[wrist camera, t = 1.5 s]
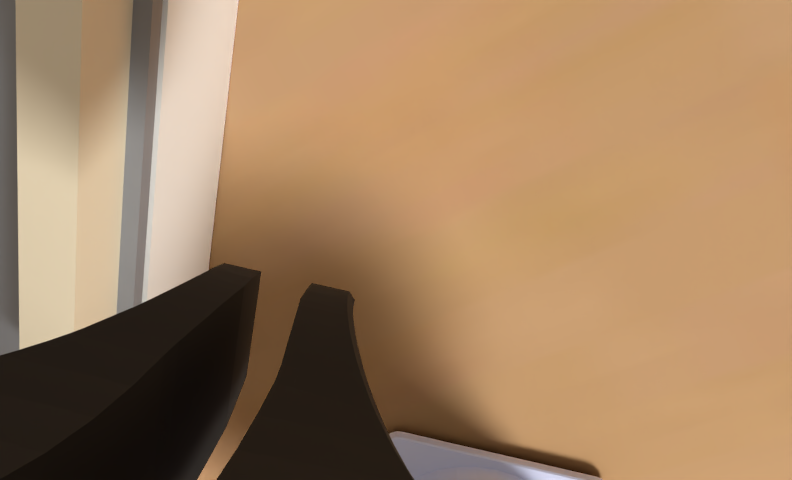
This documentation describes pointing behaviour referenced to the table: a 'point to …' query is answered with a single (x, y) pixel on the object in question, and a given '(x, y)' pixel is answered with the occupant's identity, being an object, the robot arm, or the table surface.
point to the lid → (74, 161)
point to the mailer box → (187, 139)
